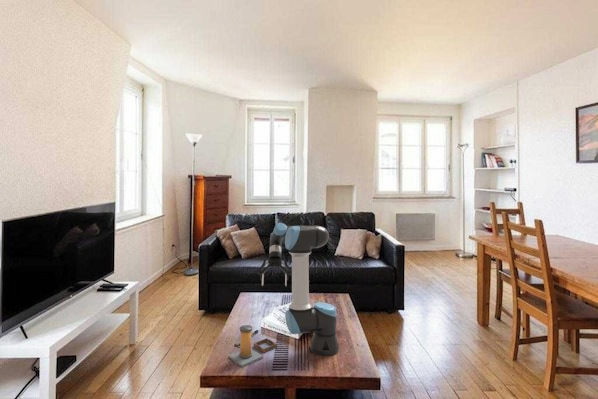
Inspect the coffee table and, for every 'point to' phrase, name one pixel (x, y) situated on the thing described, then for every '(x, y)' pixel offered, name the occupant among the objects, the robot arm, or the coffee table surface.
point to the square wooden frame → (267, 347)
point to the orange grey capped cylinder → (245, 342)
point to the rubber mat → (244, 362)
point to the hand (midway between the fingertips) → (274, 284)
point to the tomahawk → (251, 336)
